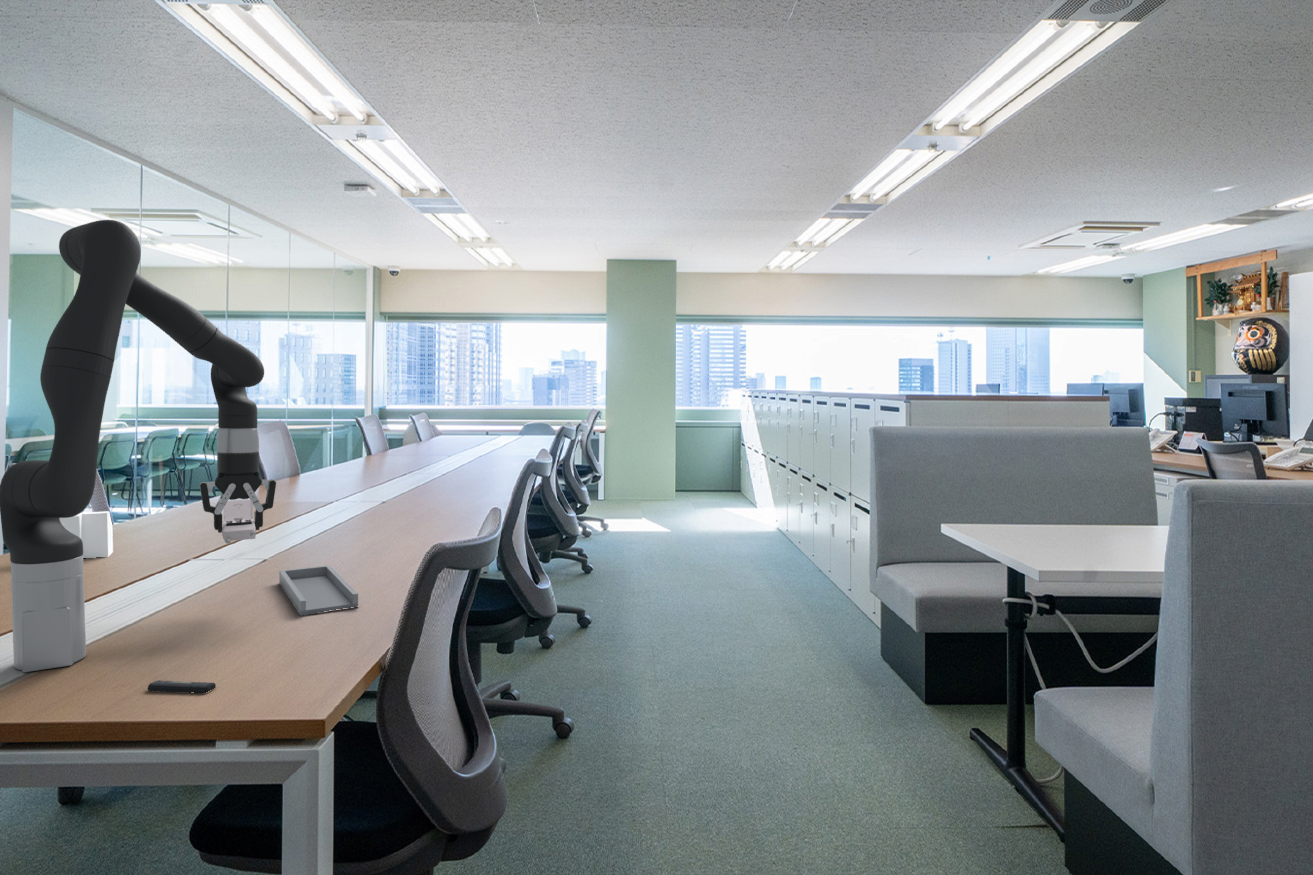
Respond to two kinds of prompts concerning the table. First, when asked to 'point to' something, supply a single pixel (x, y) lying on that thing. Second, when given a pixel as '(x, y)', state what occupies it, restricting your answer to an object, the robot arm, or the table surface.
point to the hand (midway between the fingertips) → (238, 530)
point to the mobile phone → (238, 521)
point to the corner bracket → (92, 532)
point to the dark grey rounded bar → (181, 686)
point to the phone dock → (317, 589)
